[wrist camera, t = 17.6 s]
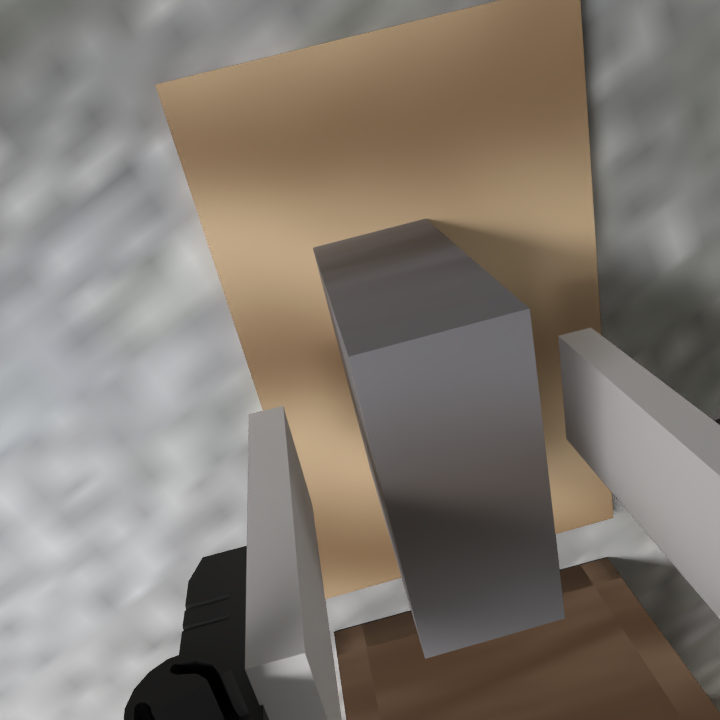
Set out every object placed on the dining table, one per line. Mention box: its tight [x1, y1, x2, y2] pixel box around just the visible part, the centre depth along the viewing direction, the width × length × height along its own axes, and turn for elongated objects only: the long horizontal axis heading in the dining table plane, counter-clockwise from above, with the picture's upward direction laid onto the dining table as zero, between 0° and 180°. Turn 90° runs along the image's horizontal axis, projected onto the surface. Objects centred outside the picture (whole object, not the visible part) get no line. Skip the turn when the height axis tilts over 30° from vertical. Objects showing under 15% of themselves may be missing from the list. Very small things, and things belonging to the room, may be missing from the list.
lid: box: [155, 0, 613, 659], centre depth 15 cm, size 16×10×8 cm, turn 13°
